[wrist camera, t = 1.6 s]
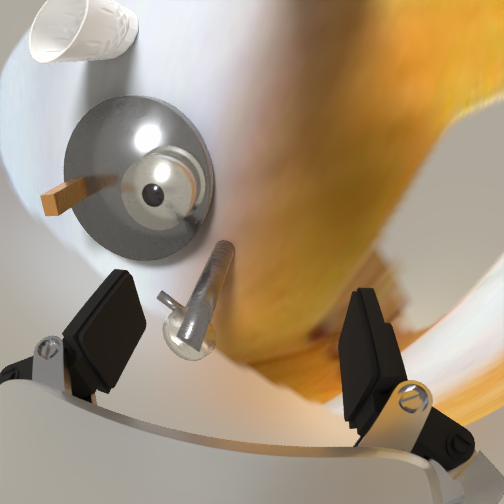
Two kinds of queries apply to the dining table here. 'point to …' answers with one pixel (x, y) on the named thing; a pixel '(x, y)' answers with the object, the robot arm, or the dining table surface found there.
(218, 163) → the dining table surface
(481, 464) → the robot arm
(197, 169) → the cover
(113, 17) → the white cup
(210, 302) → the dial post
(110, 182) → the turntable
